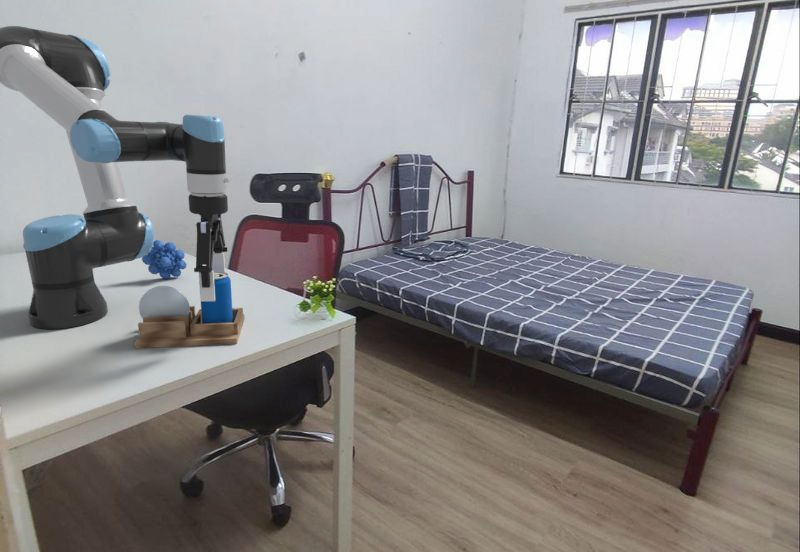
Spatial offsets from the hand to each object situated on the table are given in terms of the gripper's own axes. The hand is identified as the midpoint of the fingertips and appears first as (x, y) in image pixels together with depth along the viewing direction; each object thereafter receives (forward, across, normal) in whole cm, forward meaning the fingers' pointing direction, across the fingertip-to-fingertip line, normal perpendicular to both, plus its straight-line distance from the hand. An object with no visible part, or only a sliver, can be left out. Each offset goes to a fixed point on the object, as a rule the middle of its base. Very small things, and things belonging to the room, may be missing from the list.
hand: (214, 289), depth 103 cm
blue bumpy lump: (+11, +40, +21) cm, 46 cm away
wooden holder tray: (+10, 0, +5) cm, 11 cm away
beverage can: (+9, 0, 0) cm, 9 cm away
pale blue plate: (+9, -1, +10) cm, 14 cm away
